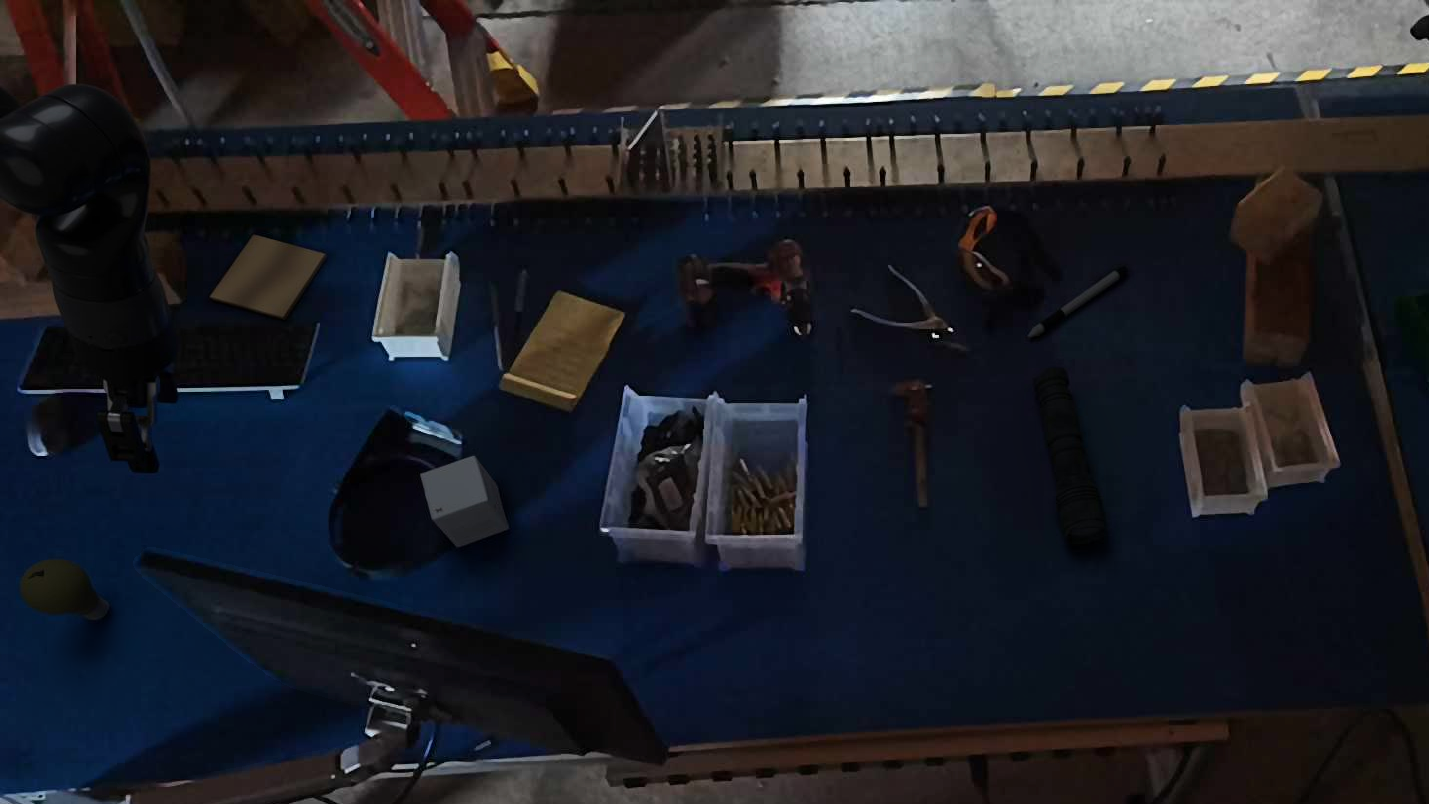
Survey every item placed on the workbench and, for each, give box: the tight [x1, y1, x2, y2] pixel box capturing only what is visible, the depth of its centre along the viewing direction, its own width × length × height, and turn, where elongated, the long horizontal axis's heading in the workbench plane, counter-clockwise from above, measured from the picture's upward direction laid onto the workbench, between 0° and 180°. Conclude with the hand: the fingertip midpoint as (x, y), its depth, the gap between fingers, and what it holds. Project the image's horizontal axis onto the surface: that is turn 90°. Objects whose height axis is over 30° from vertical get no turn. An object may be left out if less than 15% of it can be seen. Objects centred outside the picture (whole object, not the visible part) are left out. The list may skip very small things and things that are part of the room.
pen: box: [1026, 265, 1128, 339], centre depth 138 cm, size 1×16×1 cm, turn 130°
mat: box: [209, 234, 328, 321], centre depth 139 cm, size 10×10×1 cm
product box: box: [419, 455, 510, 548], centre depth 122 cm, size 6×6×7 cm
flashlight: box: [1032, 365, 1108, 546], centre depth 127 cm, size 5×21×5 cm, turn 9°
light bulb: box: [19, 558, 110, 621], centre depth 116 cm, size 6×6×10 cm
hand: (156, 434), depth 107 cm, fingers open, 8 cm apart
